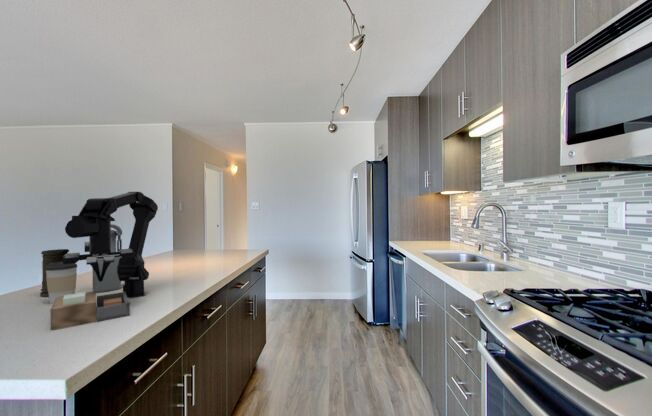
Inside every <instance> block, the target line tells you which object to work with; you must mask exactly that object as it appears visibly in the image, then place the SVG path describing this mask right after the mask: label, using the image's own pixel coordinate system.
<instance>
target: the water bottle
mask: <svg viewBox="0 0 652 416" xmlns="http://www.w3.org/2000/svg"><path fill="white" fill-rule="evenodd" d="M122 235H123V231H122V229H121V227H120V226H119V225H116V224H112V223H111V252H120V249H123V247H122V246H123V245H122V244H123V243H122V242H123V241H122V238H121V236H122ZM97 255H98V254H97ZM103 255H104V254H103ZM120 258H121V257H114V262H111V263H110V265H109V266H108V268H107V270H106V273H105V275H104V278H103V280H102V281H101V282H99V280H98V278H97V275H96V273H95V271H94V269H93V268H92V291H96V293H105V292H112V291H116V290H118V289H120V288H121V287H122V281H120V280H119V277H118V274H117V266H118V264H119V259H120ZM103 259H104V258H100V259H97V260H98V265H99V270H100V276H101V271H102V265H103Z"/></svg>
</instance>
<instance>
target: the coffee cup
mask: <svg viewBox="0 0 652 416" xmlns="http://www.w3.org/2000/svg"><path fill="white" fill-rule="evenodd" d="M77 268H78V263H77V262H76V263H72V264H63V261H62V262H54V263H50V264H49V266H47V267H46V269H45V270H46V275H47V276H46V280H47V288H48V293H49V297H48V300H49V304H50V305H53V303H54V301H55V299H56V297H58V296H64V295H69V294H76V286H77V276H78V273H77Z"/></svg>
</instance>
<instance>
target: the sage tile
mask: <svg viewBox="0 0 652 416" xmlns="http://www.w3.org/2000/svg"><path fill="white" fill-rule="evenodd" d="M86 292H87V291H86ZM86 292H85V291H84V292H77V293H76V292H75V294H69V295H64V298H63V306H65V305H71V304H77V303H83V302H85V299H86Z"/></svg>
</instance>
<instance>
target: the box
mask: <svg viewBox="0 0 652 416" xmlns="http://www.w3.org/2000/svg"><path fill="white" fill-rule="evenodd" d="M119 297H121V299H122V304H117V305H111V306H105V307H104V300H107V299H113V298H119ZM130 314H131V313H130V301H129V298H127V295H126V292H123V291H121V292H116V293H109V294H102V295H96V323H98V322H104V321H109V320H113V319H114V320H115V319H118V318H119V319H120V318H124V317H128V316H130Z"/></svg>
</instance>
